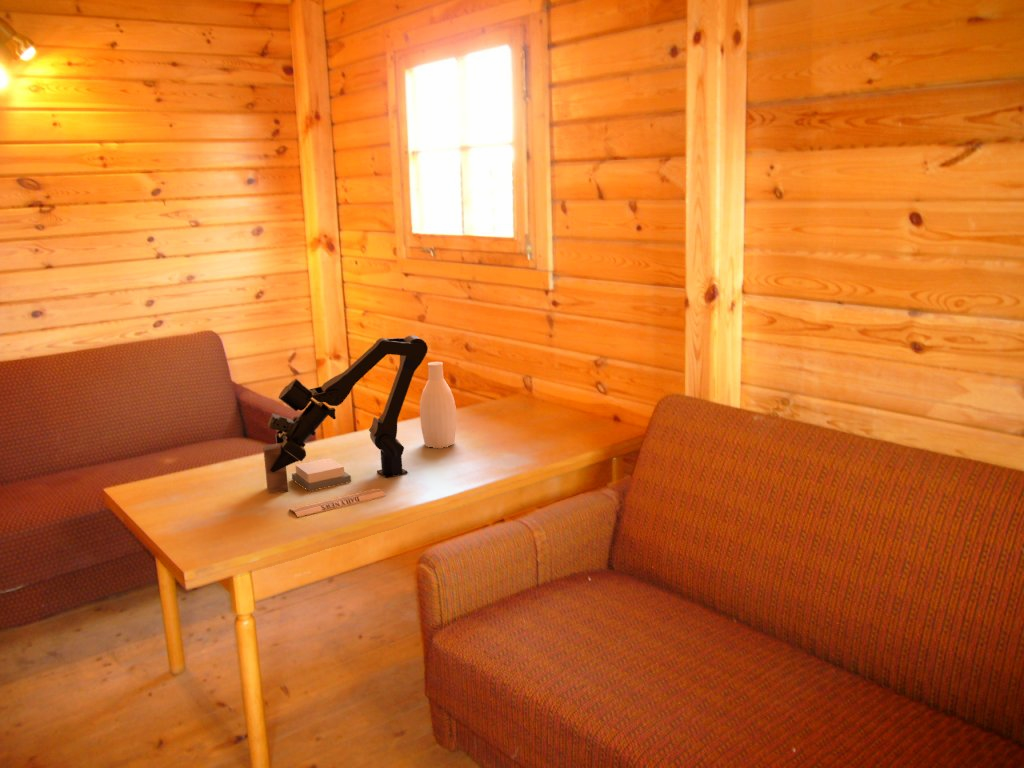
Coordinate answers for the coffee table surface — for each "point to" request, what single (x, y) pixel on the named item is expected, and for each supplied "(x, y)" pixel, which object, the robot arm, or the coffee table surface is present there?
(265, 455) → the walnut block
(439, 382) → the bottle
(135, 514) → the coffee table surface
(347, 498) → the newspaper
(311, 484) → the tower base slab
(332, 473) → the tower top slab
